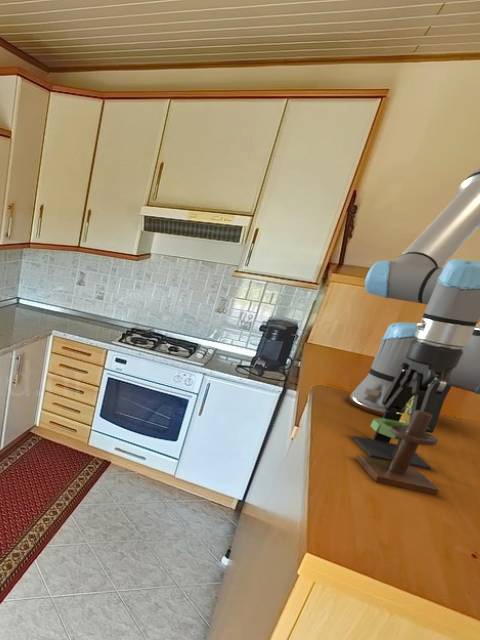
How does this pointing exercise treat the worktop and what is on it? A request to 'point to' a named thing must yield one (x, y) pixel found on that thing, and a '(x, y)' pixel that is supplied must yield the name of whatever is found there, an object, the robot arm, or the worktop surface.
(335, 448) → the worktop surface
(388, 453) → the mat
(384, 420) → the ring
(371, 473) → the peg stand
